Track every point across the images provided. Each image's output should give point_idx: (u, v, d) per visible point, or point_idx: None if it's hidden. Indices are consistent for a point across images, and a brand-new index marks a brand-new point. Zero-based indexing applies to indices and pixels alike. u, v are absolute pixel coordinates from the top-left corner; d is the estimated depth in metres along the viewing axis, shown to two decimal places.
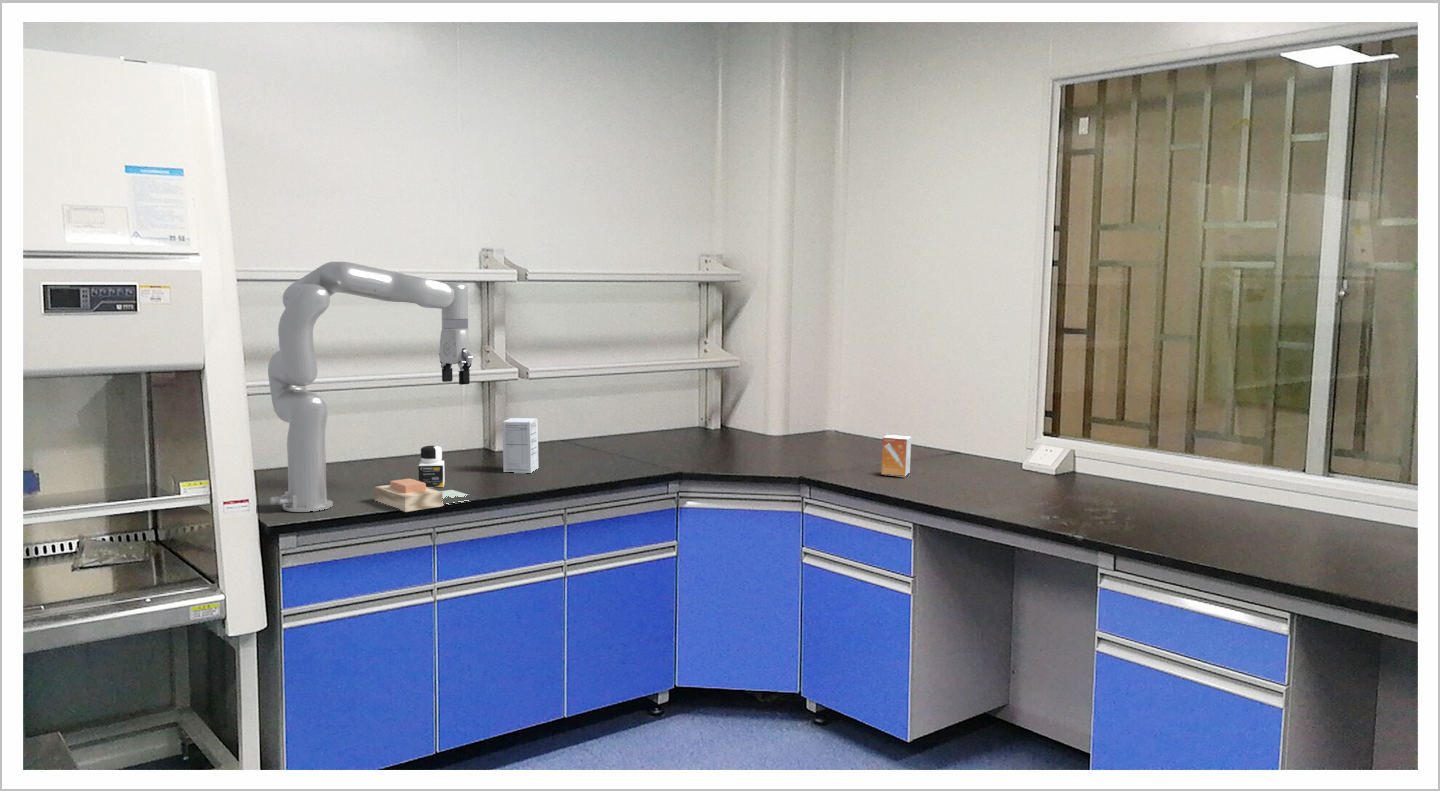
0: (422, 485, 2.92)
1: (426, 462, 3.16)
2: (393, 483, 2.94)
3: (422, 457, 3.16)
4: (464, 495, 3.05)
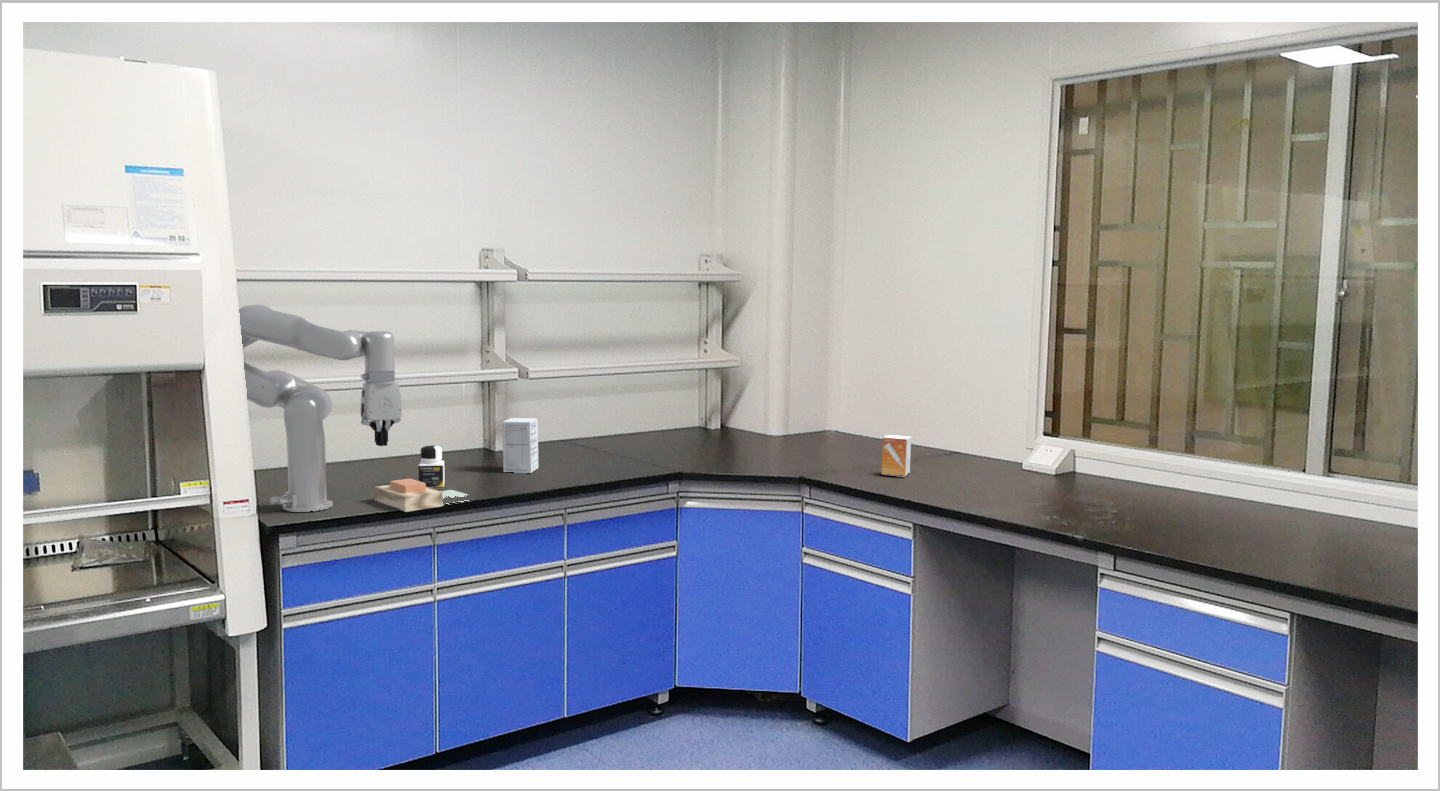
0: (422, 485, 2.92)
1: (426, 462, 3.16)
2: (393, 483, 2.94)
3: (422, 457, 3.16)
4: (464, 495, 3.05)
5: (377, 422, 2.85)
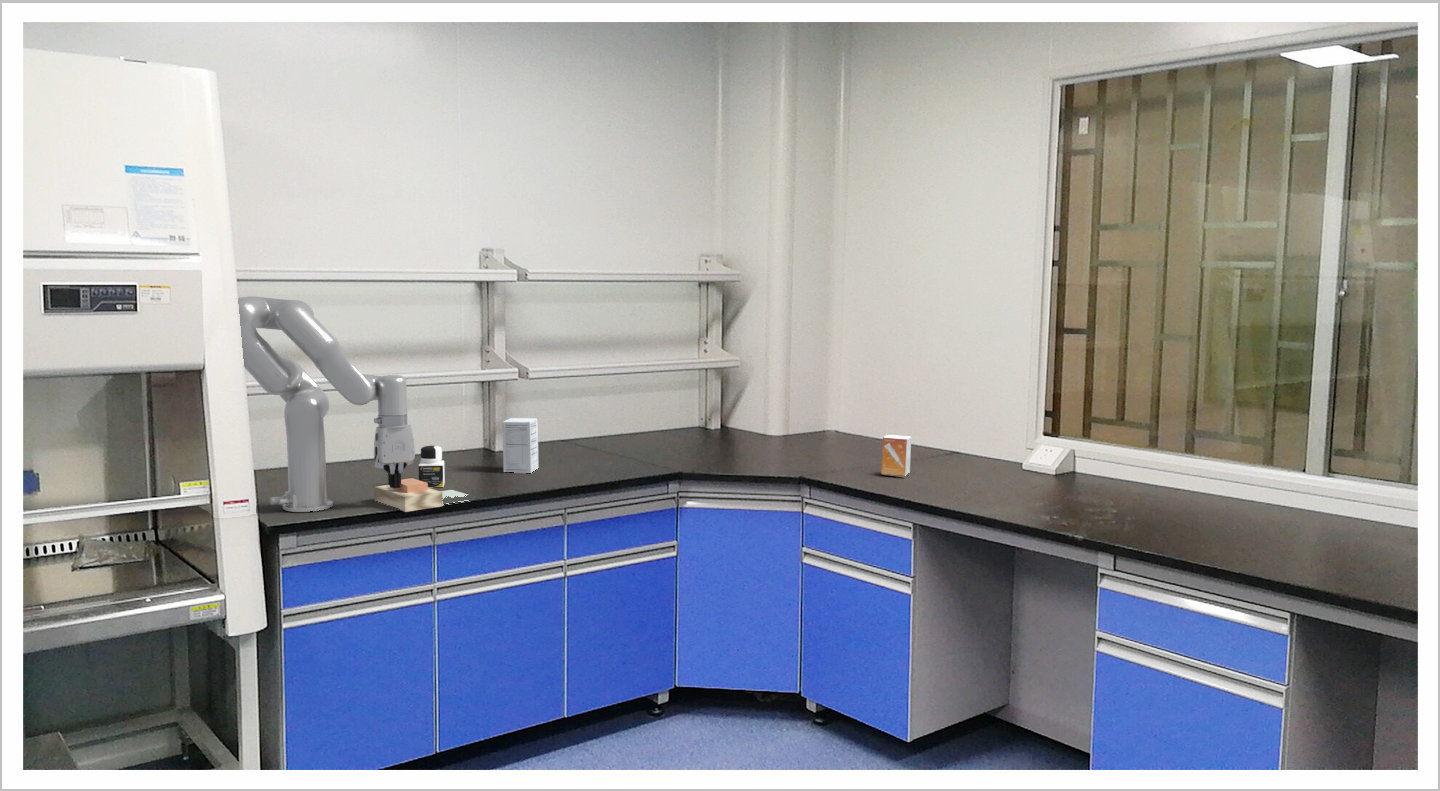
0: (424, 485, 2.93)
1: (426, 462, 3.16)
2: None
3: (422, 457, 3.16)
4: (464, 495, 3.05)
5: (391, 465, 2.89)
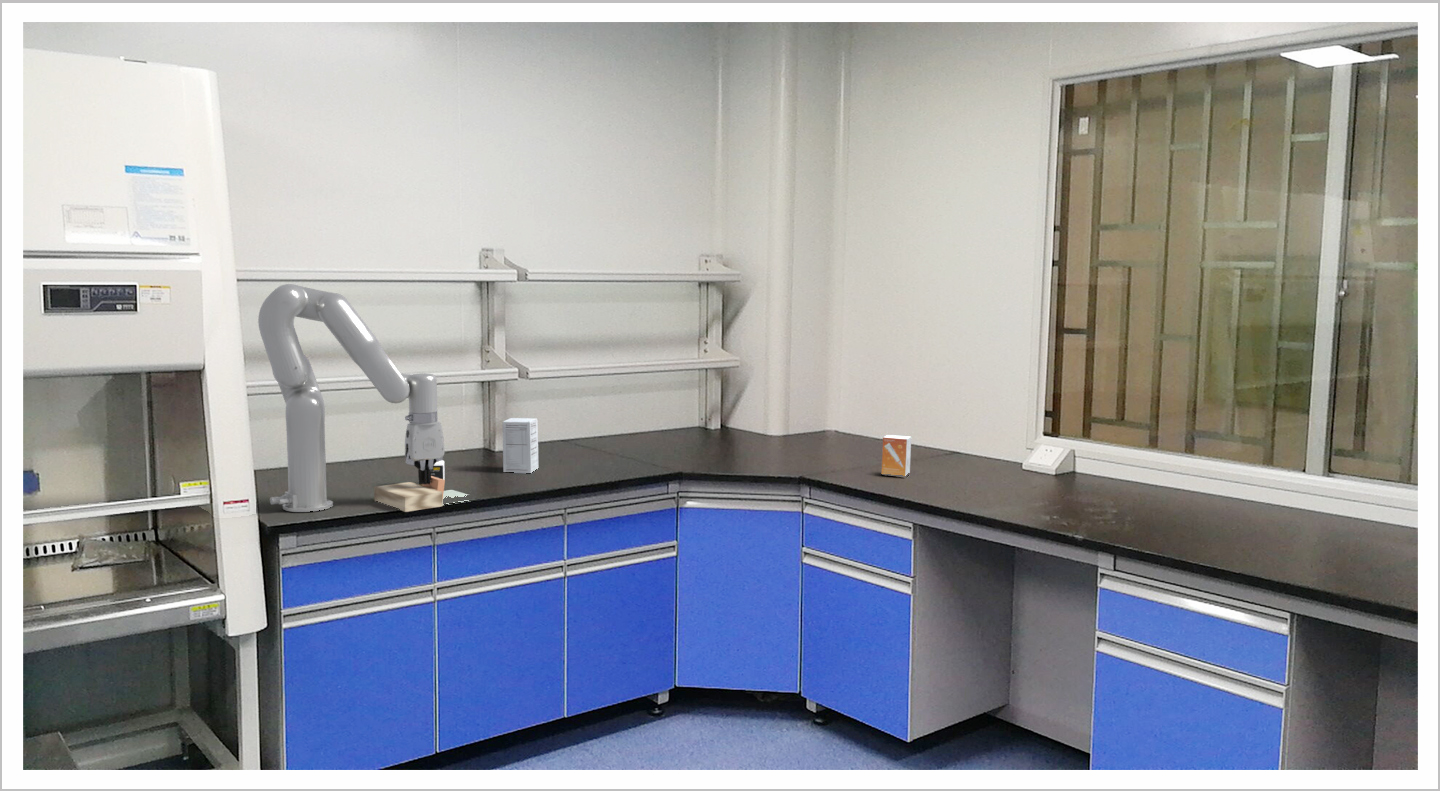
0: None
1: None
2: (431, 476, 3.02)
3: None
4: (464, 495, 3.05)
5: (421, 461, 2.95)
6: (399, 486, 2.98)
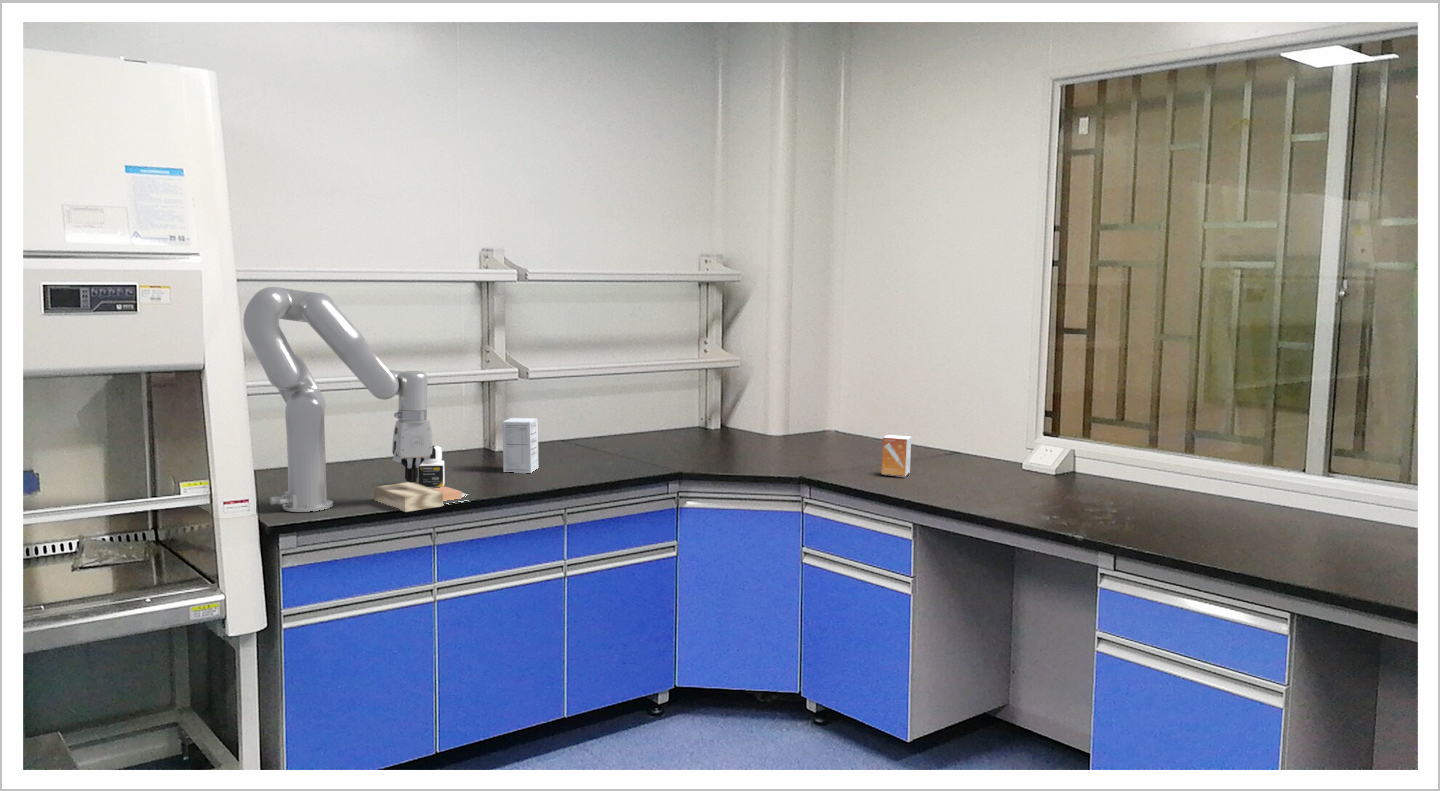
0: (445, 499, 2.97)
1: (426, 462, 3.16)
2: None
3: None
4: (464, 495, 3.05)
5: (409, 459, 2.93)
6: (399, 486, 2.98)
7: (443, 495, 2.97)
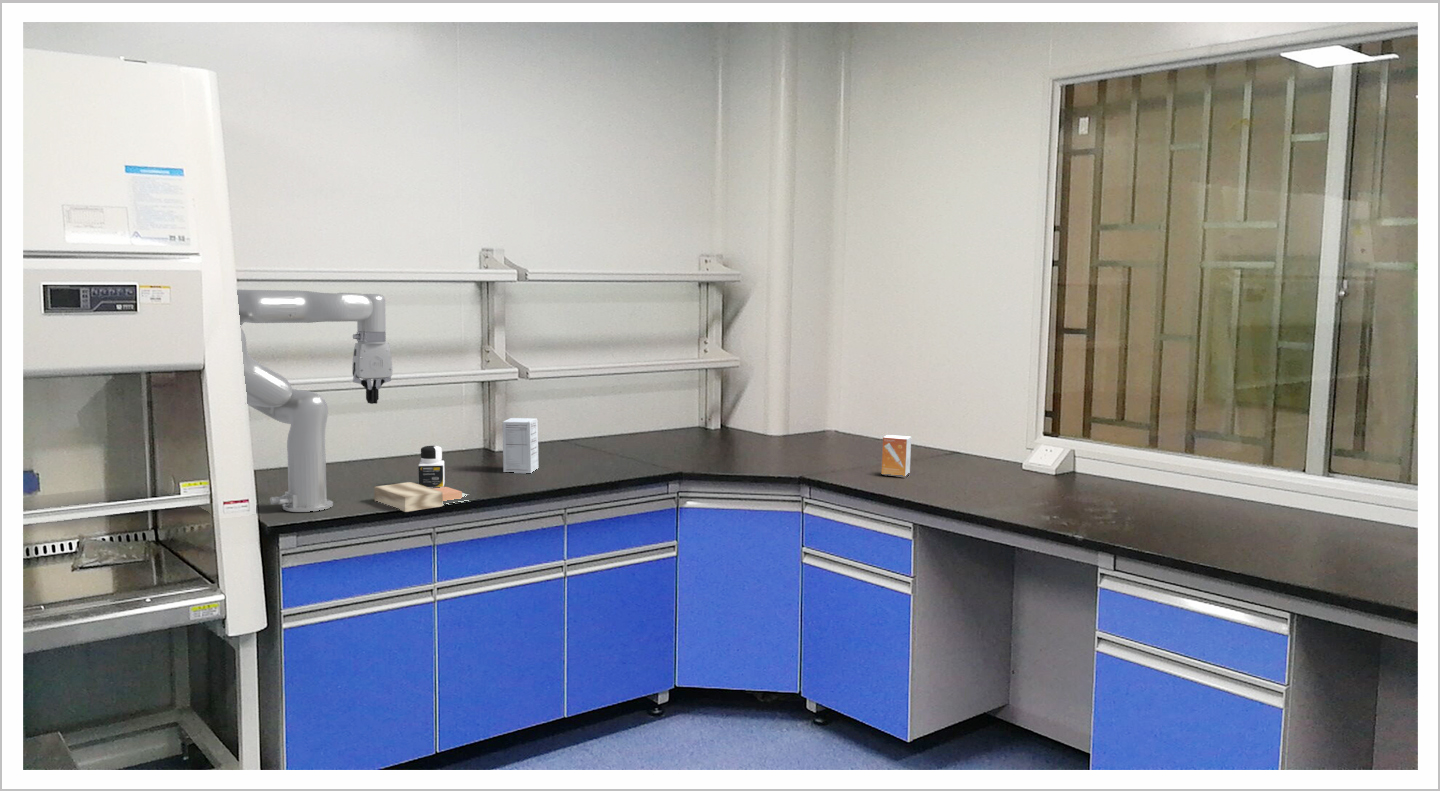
0: (445, 499, 2.97)
1: (426, 462, 3.16)
2: None
3: (422, 457, 3.16)
4: (464, 495, 3.05)
5: (368, 380, 2.98)
6: (399, 486, 2.98)
7: (443, 495, 2.97)
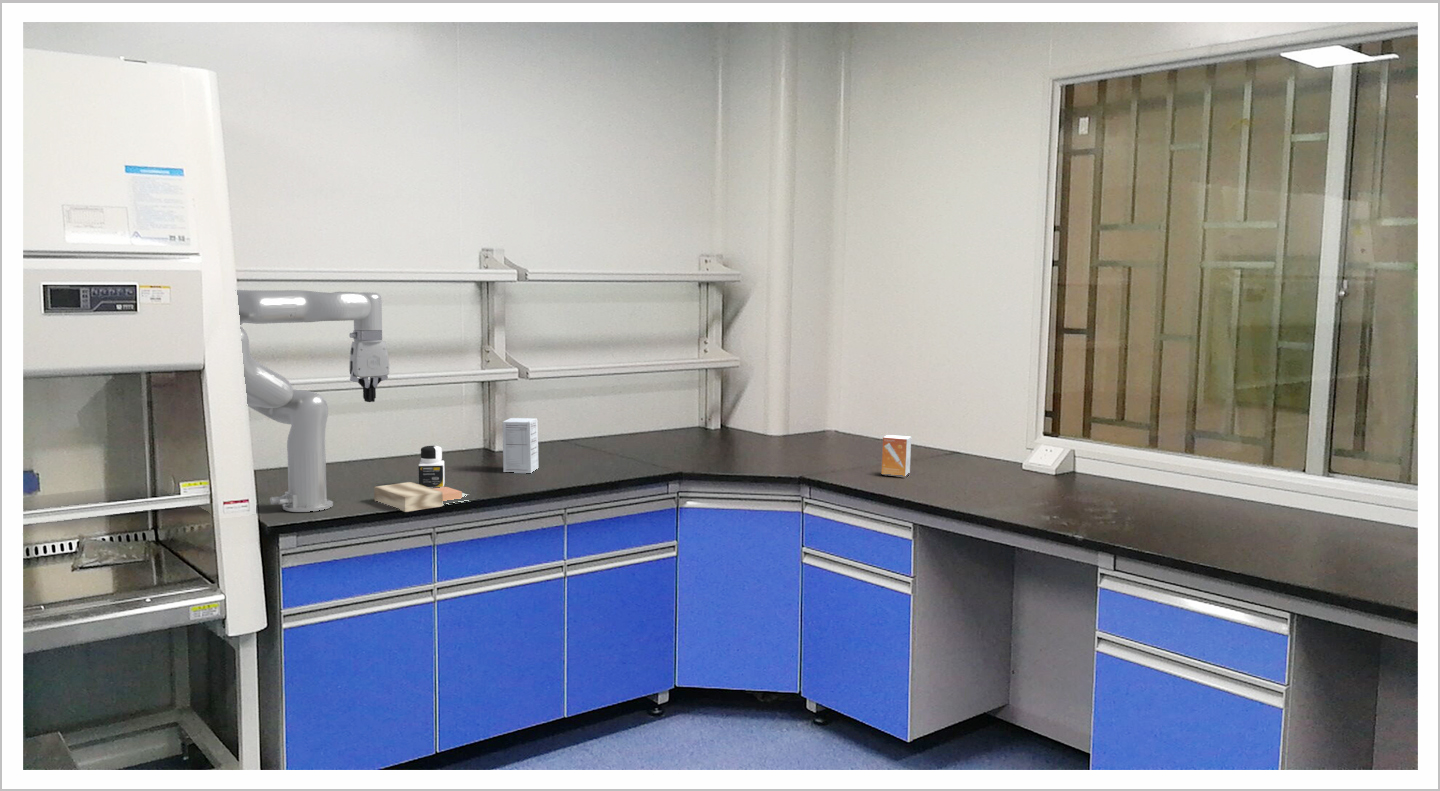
0: (445, 499, 2.97)
1: (426, 462, 3.16)
2: None
3: (422, 457, 3.16)
4: (464, 495, 3.05)
5: (366, 379, 2.99)
6: (399, 486, 2.98)
7: (443, 495, 2.97)
